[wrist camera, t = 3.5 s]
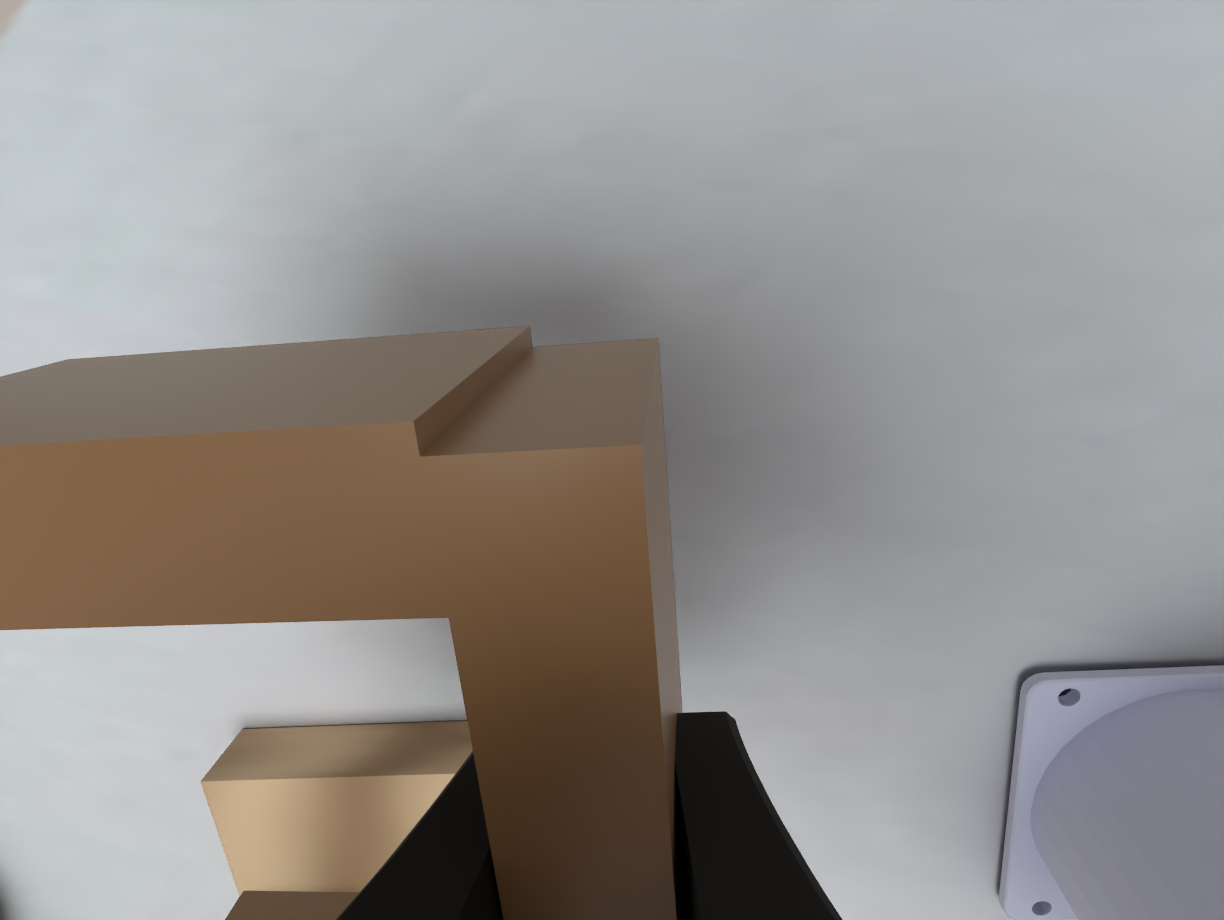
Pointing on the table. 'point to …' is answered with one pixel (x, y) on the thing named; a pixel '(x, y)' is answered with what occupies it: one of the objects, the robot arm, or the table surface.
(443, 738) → the display stand
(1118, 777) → the robot arm
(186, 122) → the table surface
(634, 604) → the wooden c-shaped bracket
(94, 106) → the table surface
